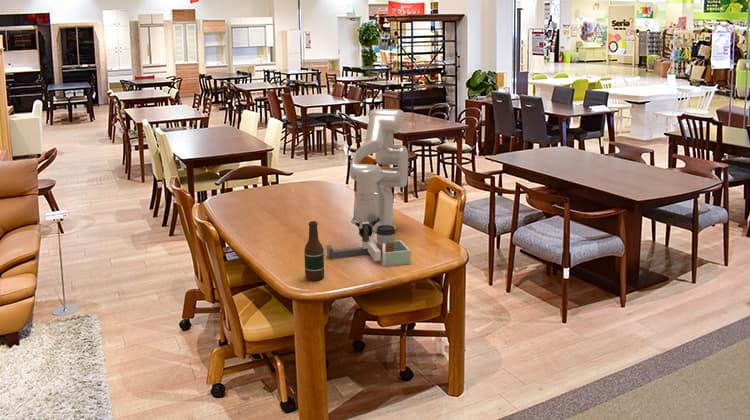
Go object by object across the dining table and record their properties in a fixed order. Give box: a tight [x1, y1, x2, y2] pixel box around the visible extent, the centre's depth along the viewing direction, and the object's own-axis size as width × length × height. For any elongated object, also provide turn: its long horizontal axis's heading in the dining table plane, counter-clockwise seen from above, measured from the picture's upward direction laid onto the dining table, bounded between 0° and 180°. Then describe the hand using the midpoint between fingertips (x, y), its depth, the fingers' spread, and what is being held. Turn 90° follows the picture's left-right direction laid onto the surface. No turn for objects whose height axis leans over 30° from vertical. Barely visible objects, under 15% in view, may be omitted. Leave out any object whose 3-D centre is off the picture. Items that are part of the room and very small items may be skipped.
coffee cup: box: [375, 225, 396, 263], centre depth 304 cm, size 8×8×15 cm
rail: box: [326, 244, 371, 261], centre depth 313 cm, size 5×28×5 cm, turn 105°
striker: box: [360, 222, 381, 262], centre depth 306 cm, size 17×6×12 cm, turn 15°
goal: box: [373, 233, 412, 268], centre depth 306 cm, size 15×12×10 cm
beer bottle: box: [303, 220, 325, 282], centre depth 284 cm, size 8×8×24 cm
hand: (365, 235), depth 312 cm, fingers closed on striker, 3 cm apart
